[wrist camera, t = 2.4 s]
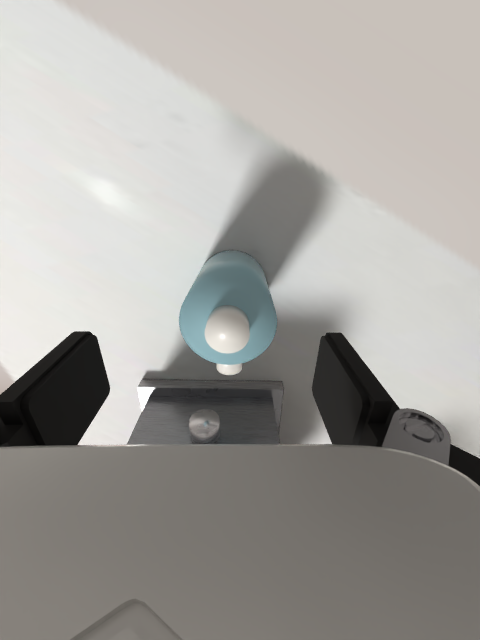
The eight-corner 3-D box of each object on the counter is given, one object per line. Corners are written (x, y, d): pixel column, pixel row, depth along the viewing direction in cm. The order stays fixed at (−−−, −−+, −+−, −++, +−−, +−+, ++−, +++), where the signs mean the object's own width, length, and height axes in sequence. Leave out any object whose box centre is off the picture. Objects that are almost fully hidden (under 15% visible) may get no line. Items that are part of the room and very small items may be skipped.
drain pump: (267, 250, 20) (284, 284, 13) (262, 329, 23) (274, 396, 16) (196, 249, 20) (169, 282, 13) (201, 328, 23) (180, 395, 16)
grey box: (282, 376, 26) (314, 515, 14) (271, 482, 33) (286, 630, 22) (140, 374, 26) (63, 512, 14) (160, 480, 33) (118, 628, 22)
